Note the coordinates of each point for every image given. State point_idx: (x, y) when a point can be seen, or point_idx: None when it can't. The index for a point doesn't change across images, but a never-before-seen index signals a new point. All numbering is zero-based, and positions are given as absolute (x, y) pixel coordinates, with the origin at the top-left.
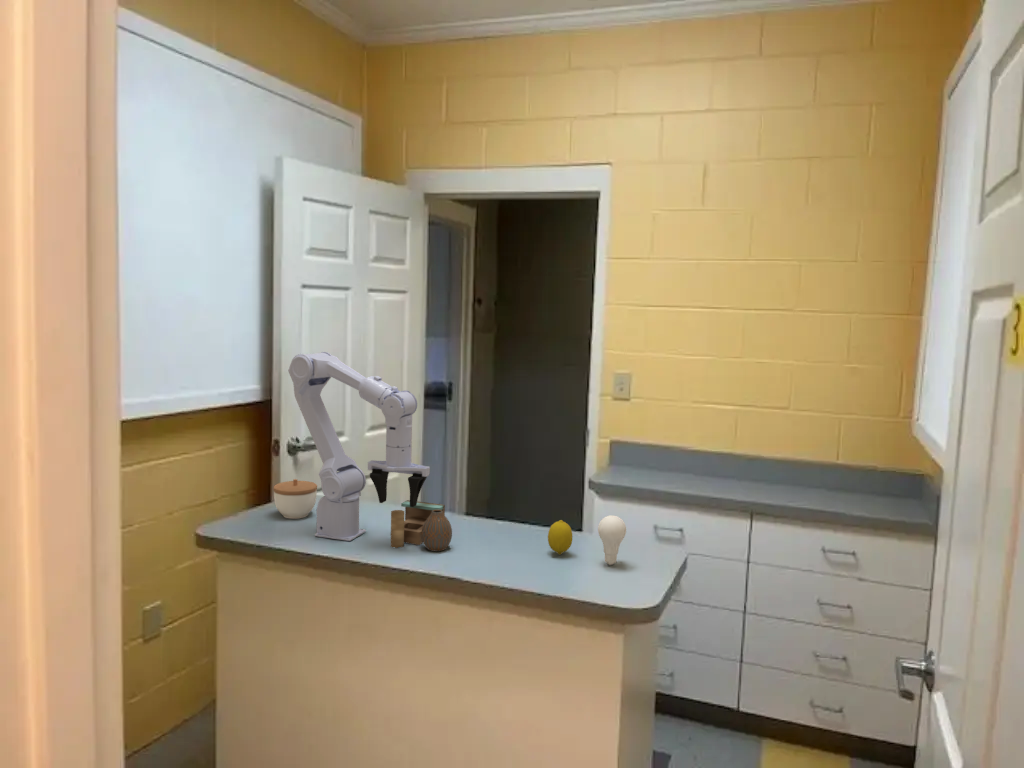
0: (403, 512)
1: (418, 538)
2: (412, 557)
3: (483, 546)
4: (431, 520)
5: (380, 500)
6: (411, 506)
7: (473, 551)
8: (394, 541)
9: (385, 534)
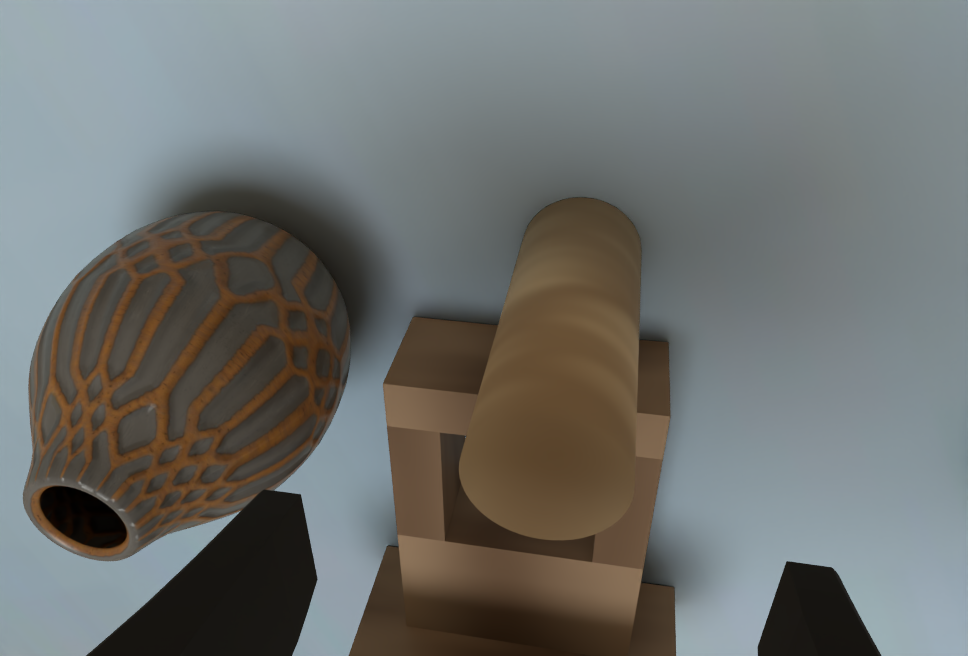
0: (465, 473)
1: (412, 350)
2: (310, 8)
3: (27, 395)
4: (123, 387)
5: (820, 593)
6: (277, 496)
7: (10, 297)
8: (579, 225)
9: (780, 461)
